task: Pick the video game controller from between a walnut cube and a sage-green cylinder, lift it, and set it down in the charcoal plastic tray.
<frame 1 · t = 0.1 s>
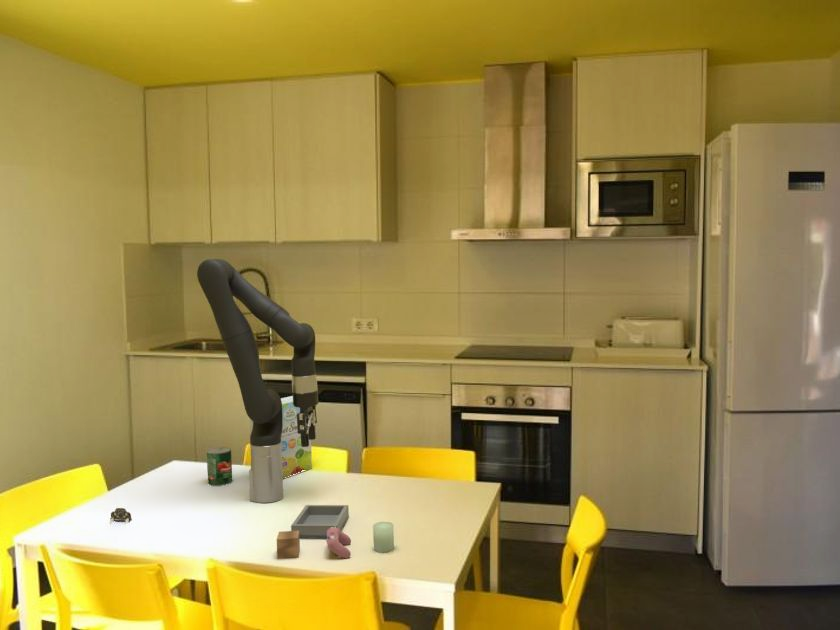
hand: (308, 442, 218), 17 cm above the table, tool pointing down, fingers open, 8 cm apart
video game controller: (339, 552, 178), on the table
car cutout: (134, 525, 202), on the table
charcoal tray: (321, 527, 194), on the table
sage cylinder: (383, 548, 179), on the table
walnut cube: (288, 554, 177), on the table
snack box: (283, 476, 245), on the table
canned tomato: (220, 483, 238), on the table
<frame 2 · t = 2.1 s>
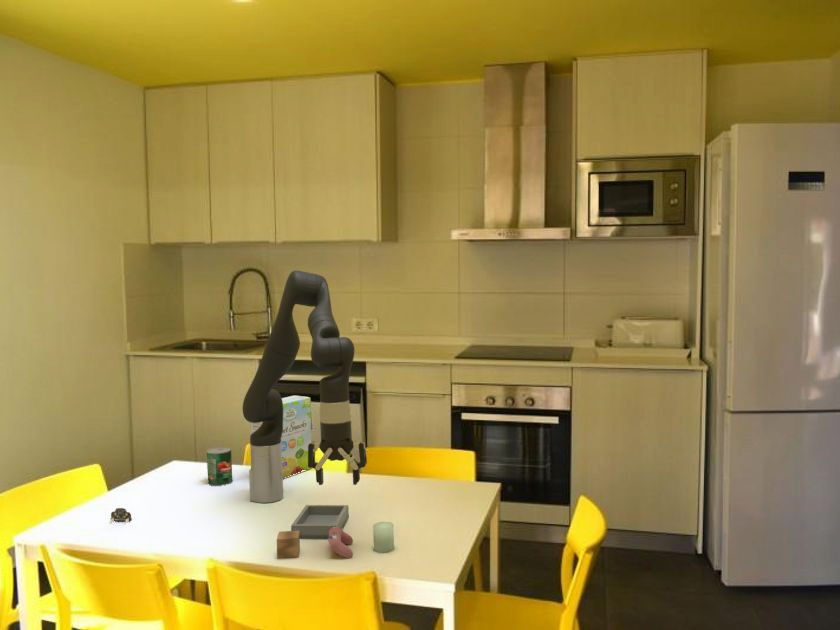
hand: (338, 484, 177), 17 cm above the table, tool pointing down, fingers open, 8 cm apart
nothing on the table moved.
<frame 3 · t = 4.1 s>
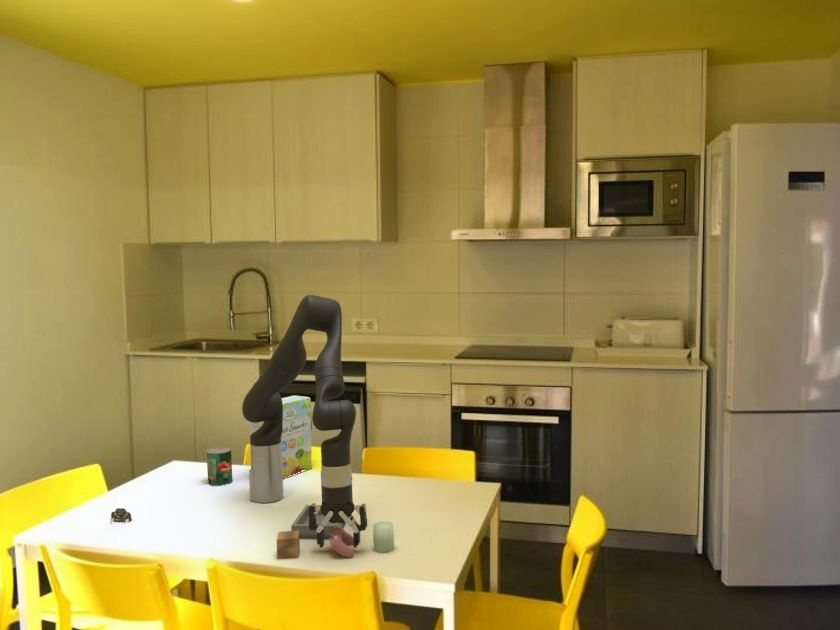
hand: (338, 546, 178), 1 cm above the table, tool pointing down, fingers open, 8 cm apart
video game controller: (342, 552, 178), on the table, touching gripper
everything else where it was.
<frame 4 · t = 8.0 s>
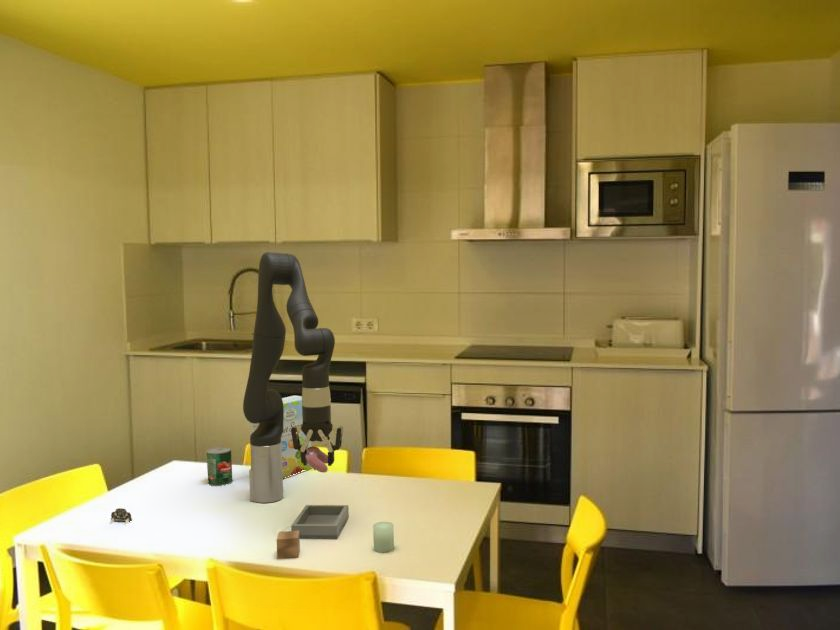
hand: (318, 464, 193), 17 cm above the table, tool pointing down, fingers closed on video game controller, 6 cm apart
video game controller: (317, 468, 194), point 16 cm above the table, touching gripper
everything else where it was.
when the fingers open (4 cm above the table, at t = 11.5 s): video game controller drops 2 cm, resting on charcoal tray.
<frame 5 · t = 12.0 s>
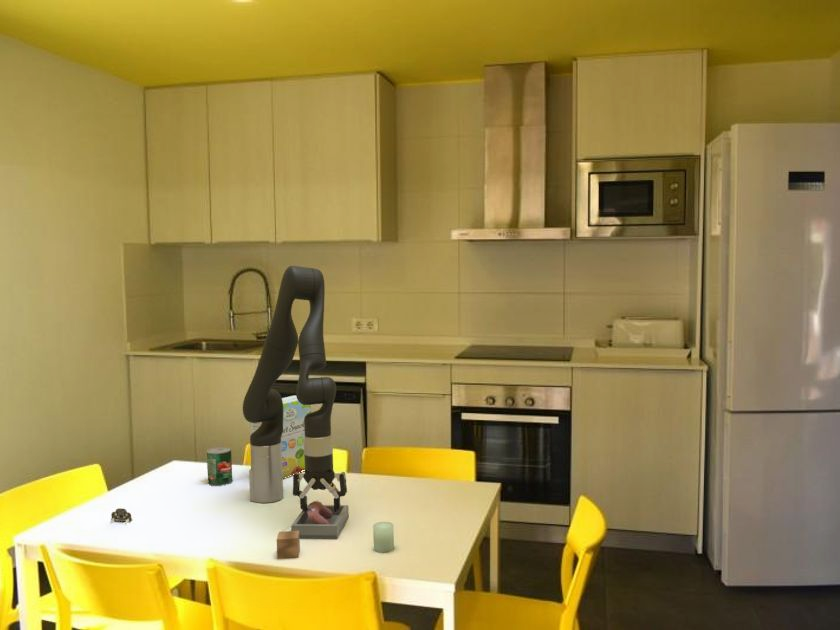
hand: (320, 510, 194), 5 cm above the table, tool pointing down, fingers open, 8 cm apart
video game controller: (320, 524, 195), point 1 cm above the table, touching charcoal tray
everything else where it was.
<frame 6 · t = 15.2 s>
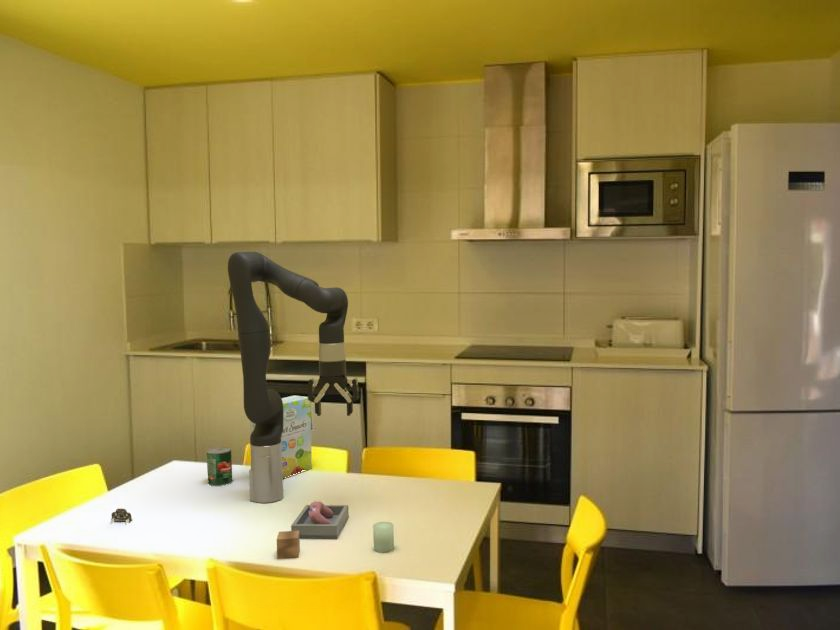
hand: (334, 415, 204), 28 cm above the table, tool pointing down, fingers open, 8 cm apart
nothing on the table moved.
at the end: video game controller inside the target area on the charcoal tray (0.4 cm from its centre), point 0.8 cm above the charcoal tray's base; walnut cube moved 0.1 cm from its start; sage cylinder moved 0.1 cm from its start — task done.
